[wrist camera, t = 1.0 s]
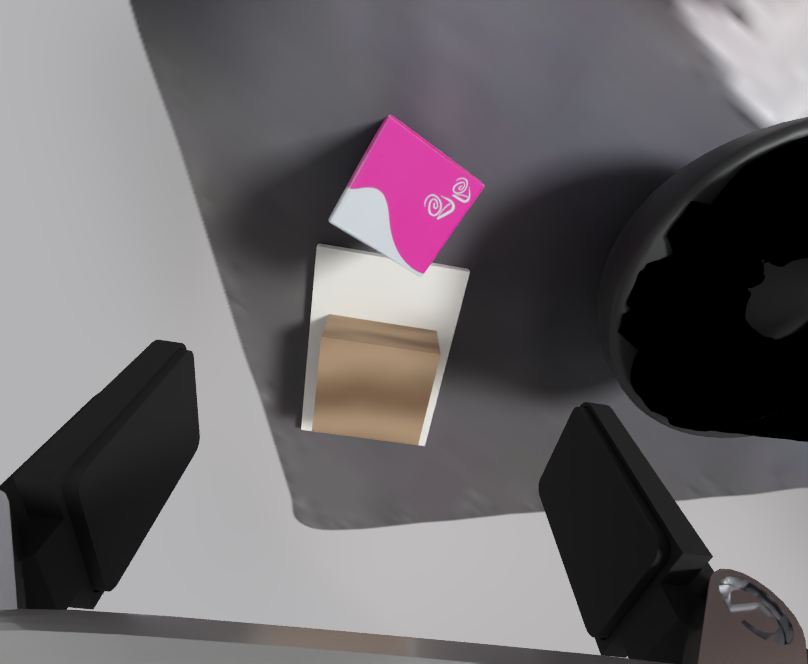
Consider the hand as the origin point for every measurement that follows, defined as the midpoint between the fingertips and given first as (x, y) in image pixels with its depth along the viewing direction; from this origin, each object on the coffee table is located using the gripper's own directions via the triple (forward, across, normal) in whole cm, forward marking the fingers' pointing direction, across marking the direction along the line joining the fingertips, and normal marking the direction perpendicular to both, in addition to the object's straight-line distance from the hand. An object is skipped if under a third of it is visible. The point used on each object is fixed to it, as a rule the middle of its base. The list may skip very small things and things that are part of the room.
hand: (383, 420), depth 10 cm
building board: (+23, 0, +13) cm, 27 cm away
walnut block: (+23, 0, +14) cm, 26 cm away
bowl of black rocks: (+24, -23, 0) cm, 33 cm away
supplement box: (+24, 0, -2) cm, 24 cm away
